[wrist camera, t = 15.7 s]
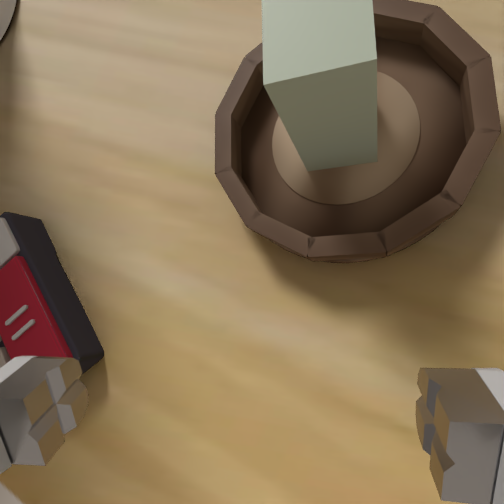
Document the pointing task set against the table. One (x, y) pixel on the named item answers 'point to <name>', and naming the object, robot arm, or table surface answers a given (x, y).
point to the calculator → (39, 299)
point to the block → (323, 78)
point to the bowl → (388, 145)
